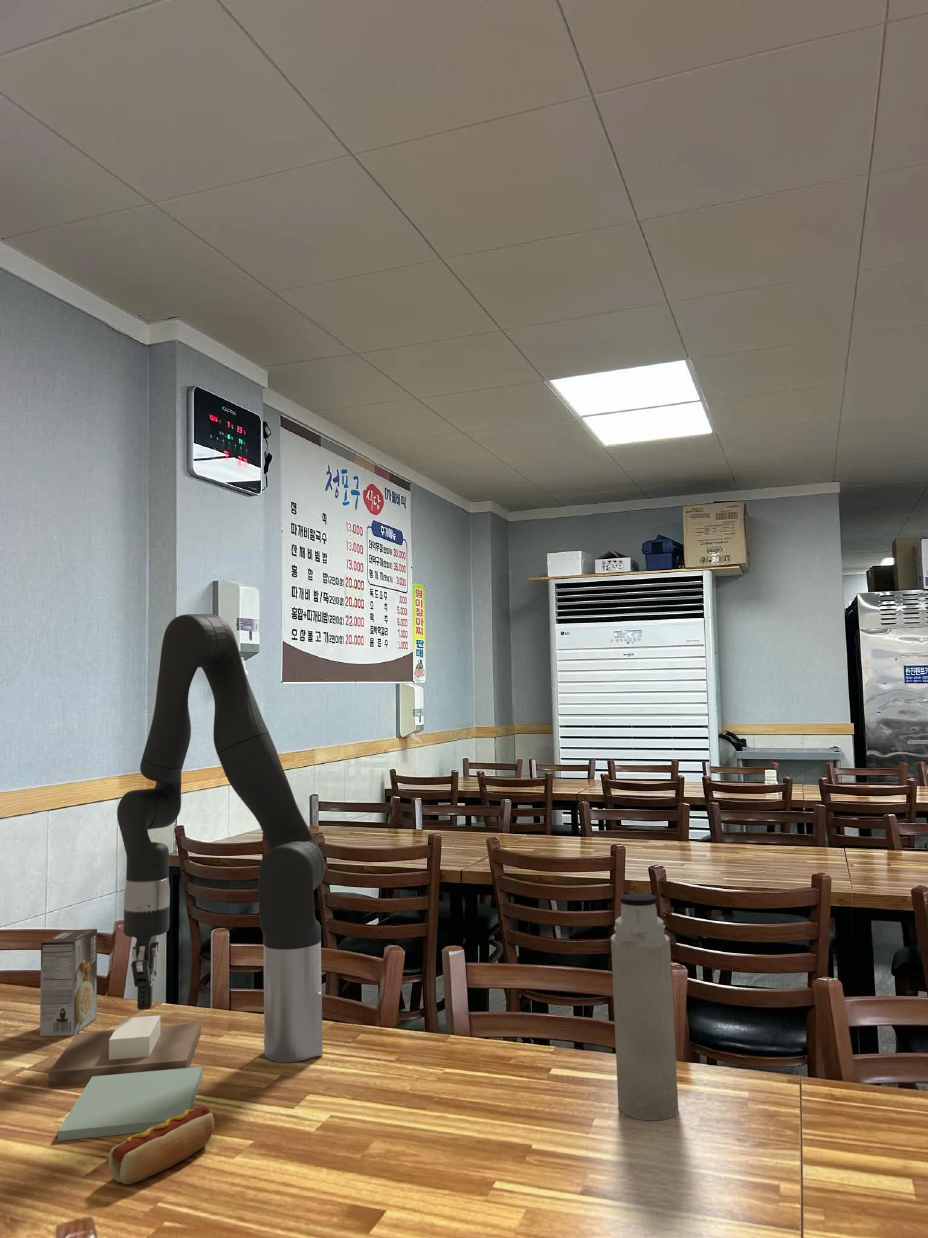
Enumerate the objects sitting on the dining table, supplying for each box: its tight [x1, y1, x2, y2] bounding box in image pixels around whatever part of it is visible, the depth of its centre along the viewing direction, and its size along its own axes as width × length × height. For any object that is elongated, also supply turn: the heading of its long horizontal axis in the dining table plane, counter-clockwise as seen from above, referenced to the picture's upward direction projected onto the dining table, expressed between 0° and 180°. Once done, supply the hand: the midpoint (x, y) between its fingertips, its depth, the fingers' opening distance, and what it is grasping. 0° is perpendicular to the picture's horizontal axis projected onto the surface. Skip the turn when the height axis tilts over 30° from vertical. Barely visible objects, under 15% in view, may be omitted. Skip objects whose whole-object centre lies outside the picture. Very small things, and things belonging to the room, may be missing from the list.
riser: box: [47, 1022, 202, 1087], centre depth 144 cm, size 20×17×2 cm
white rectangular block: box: [109, 1015, 161, 1060], centre depth 144 cm, size 6×10×3 cm, turn 9°
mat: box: [57, 1066, 203, 1142], centre depth 127 cm, size 16×18×1 cm
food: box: [108, 1105, 215, 1186], centre depth 110 cm, size 14×6×5 cm, turn 146°
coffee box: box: [39, 928, 98, 1037], centre depth 161 cm, size 9×6×16 cm
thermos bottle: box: [610, 892, 679, 1121], centre depth 123 cm, size 8×8×28 cm
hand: (144, 1008), depth 154 cm, fingers closed
